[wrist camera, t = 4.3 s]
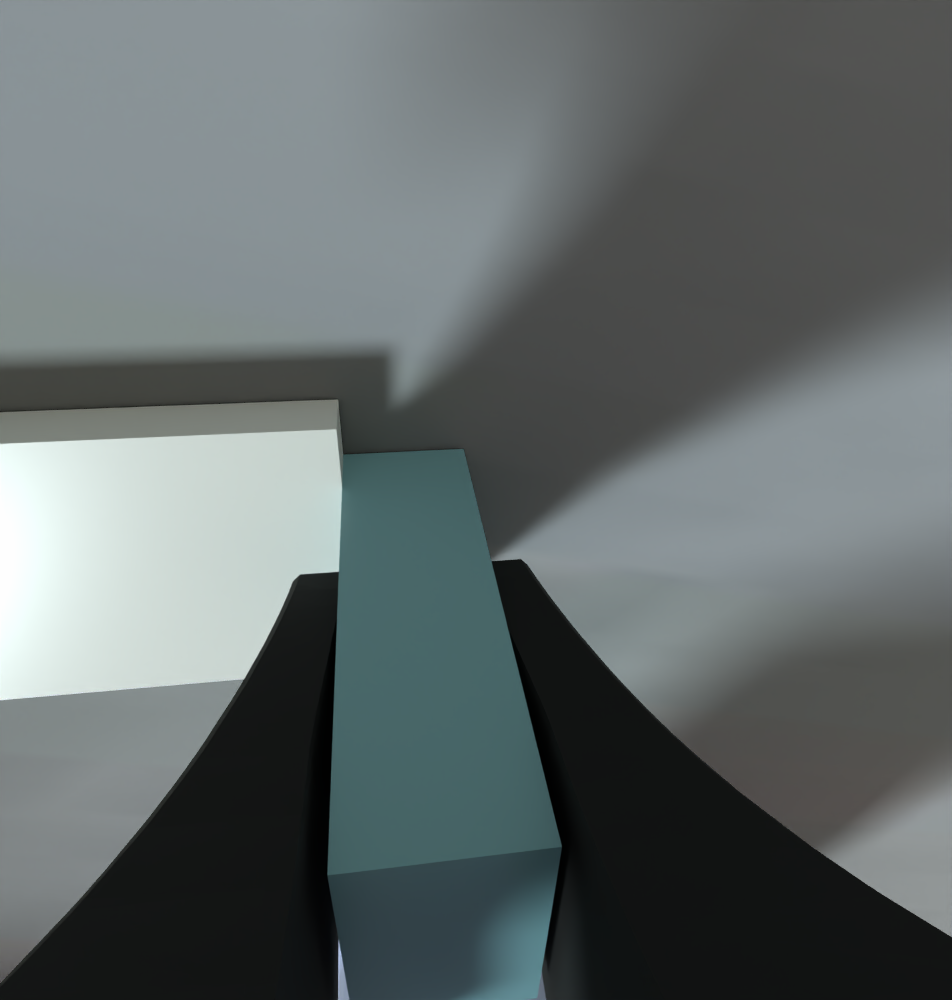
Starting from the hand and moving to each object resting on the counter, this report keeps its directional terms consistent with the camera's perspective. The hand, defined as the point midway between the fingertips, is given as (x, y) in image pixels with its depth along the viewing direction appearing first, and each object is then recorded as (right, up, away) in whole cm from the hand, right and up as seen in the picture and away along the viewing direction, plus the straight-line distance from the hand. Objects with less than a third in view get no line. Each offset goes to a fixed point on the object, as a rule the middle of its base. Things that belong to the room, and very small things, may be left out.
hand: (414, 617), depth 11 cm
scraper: (-6, +1, +1) cm, 6 cm away
